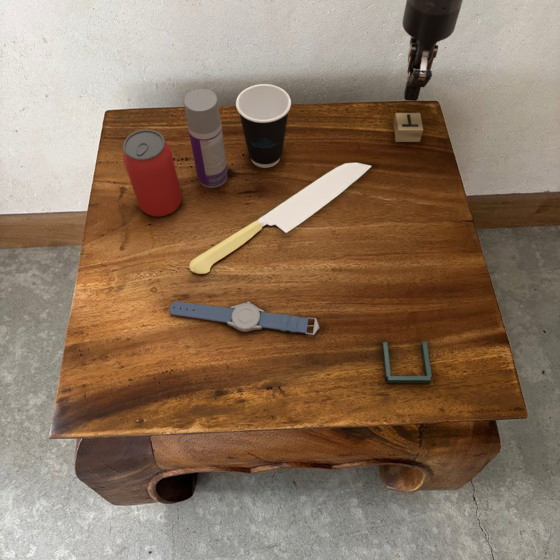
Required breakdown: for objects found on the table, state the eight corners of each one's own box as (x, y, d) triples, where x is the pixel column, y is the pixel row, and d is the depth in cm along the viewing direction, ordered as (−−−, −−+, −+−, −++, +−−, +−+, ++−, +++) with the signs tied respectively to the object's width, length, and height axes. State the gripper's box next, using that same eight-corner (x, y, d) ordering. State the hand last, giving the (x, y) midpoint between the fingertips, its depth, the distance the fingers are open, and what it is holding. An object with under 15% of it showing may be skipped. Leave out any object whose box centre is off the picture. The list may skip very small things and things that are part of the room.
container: (194, 170, 86) (178, 92, 74) (222, 162, 87) (212, 84, 75) (202, 191, 84) (188, 115, 71) (231, 183, 85) (222, 106, 72)
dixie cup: (272, 132, 91) (271, 76, 81) (300, 161, 87) (302, 106, 78) (231, 152, 88) (225, 97, 79) (258, 182, 85) (255, 129, 76)
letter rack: (381, 345, 71) (382, 341, 70) (425, 345, 70) (426, 341, 70) (385, 383, 68) (386, 380, 67) (430, 383, 68) (432, 380, 67)
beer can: (132, 214, 82) (110, 157, 72) (148, 181, 85) (129, 122, 75) (174, 222, 81) (158, 165, 71) (188, 189, 84) (175, 130, 74)
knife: (380, 171, 86) (360, 150, 87) (203, 284, 74) (183, 258, 76) (378, 176, 87) (358, 156, 88) (203, 288, 76) (183, 263, 77)
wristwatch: (317, 342, 71) (318, 339, 70) (166, 322, 72) (165, 318, 71) (321, 313, 73) (321, 310, 72) (174, 294, 74) (173, 291, 74)
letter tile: (392, 124, 92) (395, 112, 89) (416, 124, 92) (420, 112, 89) (395, 142, 90) (398, 129, 87) (420, 142, 89) (423, 129, 87)
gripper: (465, 27, 72) (434, 127, 87) (460, -29, 79) (432, 73, 94) (407, 23, 73) (386, 123, 87) (408, -32, 79) (388, 70, 94)
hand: (410, 97), depth 91 cm, fingers closed
